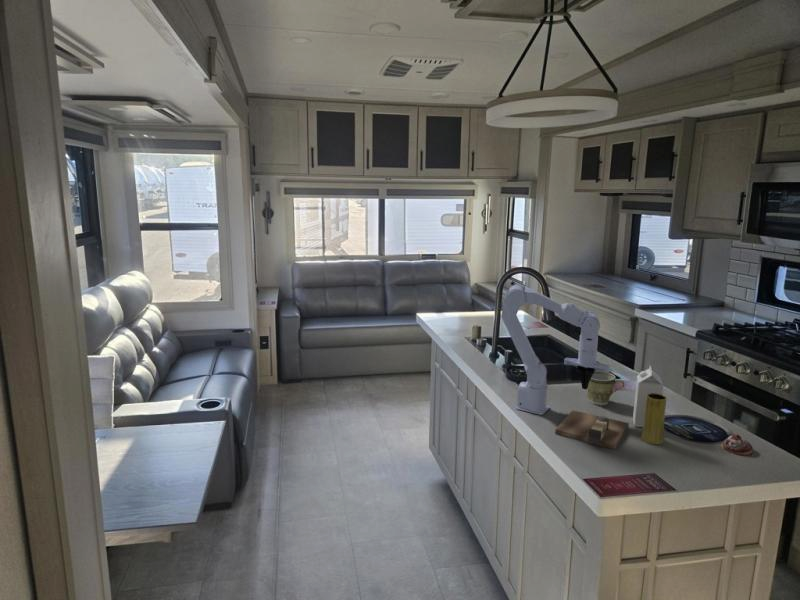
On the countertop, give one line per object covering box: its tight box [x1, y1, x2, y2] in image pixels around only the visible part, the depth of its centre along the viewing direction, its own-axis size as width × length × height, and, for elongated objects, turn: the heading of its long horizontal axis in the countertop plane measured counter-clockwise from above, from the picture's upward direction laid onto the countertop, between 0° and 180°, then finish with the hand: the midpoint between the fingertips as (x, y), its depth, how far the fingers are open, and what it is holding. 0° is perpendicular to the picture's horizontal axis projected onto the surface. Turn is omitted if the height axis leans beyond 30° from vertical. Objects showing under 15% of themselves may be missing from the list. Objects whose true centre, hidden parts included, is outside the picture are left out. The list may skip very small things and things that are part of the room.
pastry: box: [721, 433, 754, 457], centre depth 161 cm, size 8×8×5 cm
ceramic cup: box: [586, 370, 625, 406], centre depth 194 cm, size 13×10×10 cm
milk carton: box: [632, 365, 664, 428], centre depth 176 cm, size 7×7×19 cm
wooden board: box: [554, 409, 630, 450], centre depth 173 cm, size 18×18×2 cm
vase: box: [641, 393, 667, 445], centre depth 166 cm, size 6×6×14 cm
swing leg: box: [588, 415, 610, 443], centre depth 167 cm, size 13×4×3 cm, turn 148°
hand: (584, 388), depth 183 cm, fingers closed
